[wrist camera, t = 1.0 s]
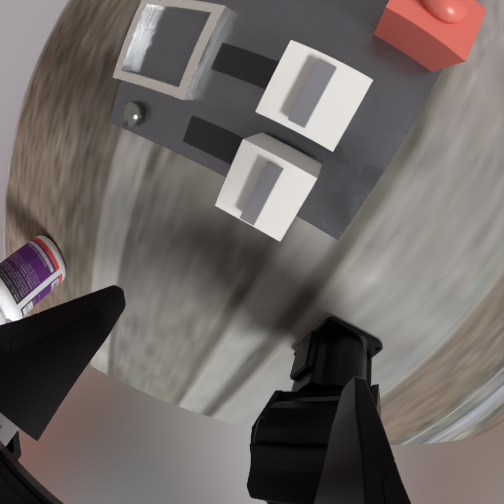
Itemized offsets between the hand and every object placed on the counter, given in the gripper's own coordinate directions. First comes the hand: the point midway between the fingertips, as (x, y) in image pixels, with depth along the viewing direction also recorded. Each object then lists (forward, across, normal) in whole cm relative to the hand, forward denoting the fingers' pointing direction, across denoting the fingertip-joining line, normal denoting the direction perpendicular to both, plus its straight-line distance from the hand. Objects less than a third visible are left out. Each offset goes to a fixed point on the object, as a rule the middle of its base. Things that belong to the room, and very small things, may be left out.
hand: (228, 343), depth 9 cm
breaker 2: (+10, +1, -3) cm, 11 cm away
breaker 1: (+10, 0, -8) cm, 13 cm away
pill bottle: (+12, +32, +16) cm, 38 cm away
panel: (+12, +4, -12) cm, 17 cm away
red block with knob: (+11, -5, -15) cm, 19 cm away
